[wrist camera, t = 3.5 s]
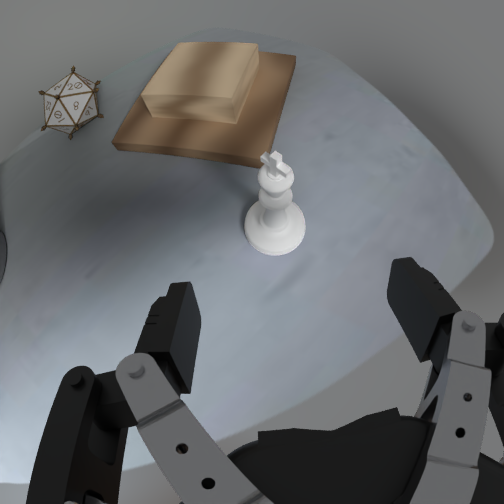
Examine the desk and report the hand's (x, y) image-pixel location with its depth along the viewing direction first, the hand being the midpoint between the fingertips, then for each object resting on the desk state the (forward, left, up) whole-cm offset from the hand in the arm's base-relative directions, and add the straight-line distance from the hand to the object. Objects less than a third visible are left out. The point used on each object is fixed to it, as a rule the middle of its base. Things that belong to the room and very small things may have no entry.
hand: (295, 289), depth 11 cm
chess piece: (-2, +6, -11) cm, 13 cm away
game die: (-28, +15, -11) cm, 34 cm away
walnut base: (-12, +19, -11) cm, 25 cm away
